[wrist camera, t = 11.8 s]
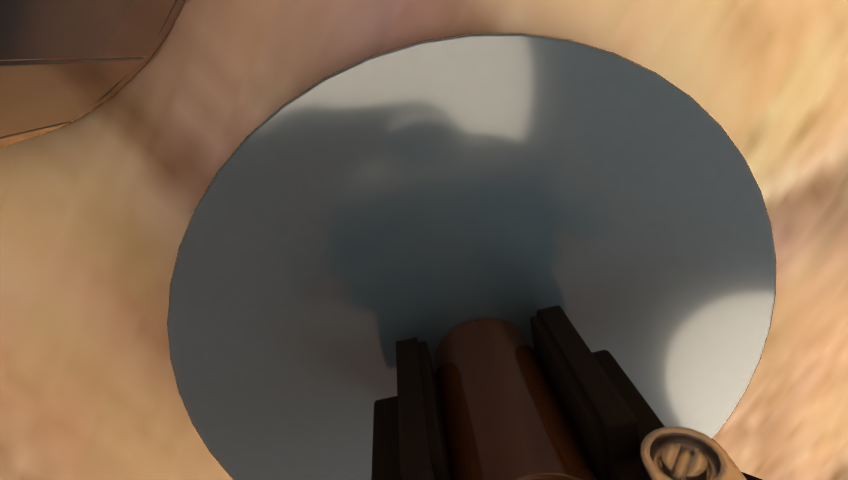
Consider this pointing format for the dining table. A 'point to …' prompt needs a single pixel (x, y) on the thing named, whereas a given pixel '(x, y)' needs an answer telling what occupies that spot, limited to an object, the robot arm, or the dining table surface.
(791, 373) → the dining table surface
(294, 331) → the lid
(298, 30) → the dining table surface
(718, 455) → the robot arm
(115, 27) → the bowl
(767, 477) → the dining table surface
